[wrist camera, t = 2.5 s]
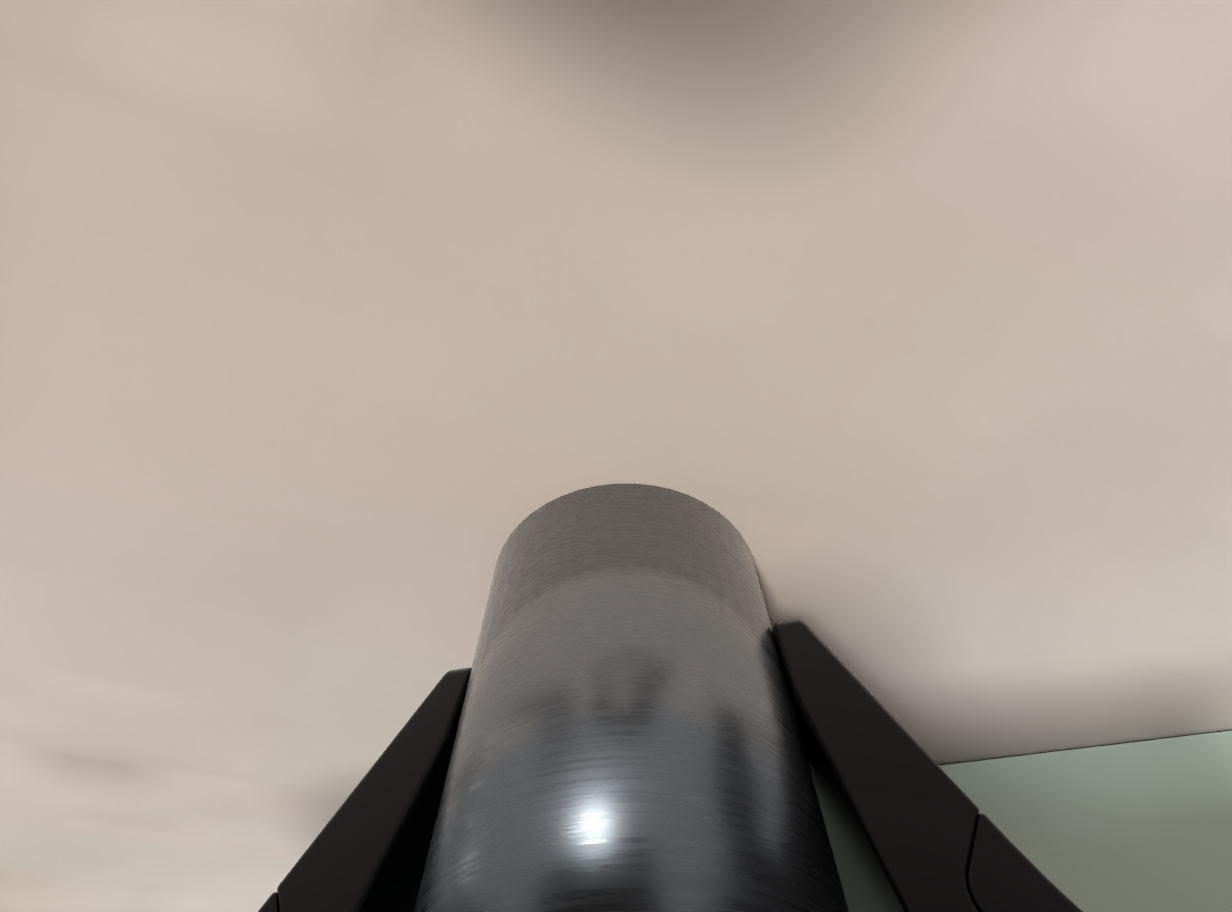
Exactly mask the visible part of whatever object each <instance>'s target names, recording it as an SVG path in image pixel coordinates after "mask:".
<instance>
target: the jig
mask: <svg viewBox="0 0 1232 912" xmlns="http://www.w3.org/2000/svg"><path fill="white" fill-rule="evenodd" d="M939 766H940V767H941V768H942V769H943V770H944V771H945V773H946V774H947V775H948V776H949V777H950V778H951V779H952V780H953V781H954V782H955V783H956V784H957V785H958V786H959V787H960V788H961V789H962V791H963V792H964V793H965V794H966V795H967V796H968V797H969V798H970V799H971V800H972V801H973V802H974V803H975V804H976V805H977V806H978V808H979V810H980V812H979V814H981V813H983V814H985V815H987V817H988V818H989V819H990V820H991V821H992V822H993V823H994V824H995V825H996V826H997V827H998V828H999V829H1000V830H1001V831H1002V832H1003V834H1004V835H1005V836H1006V837H1007V838H1008V839H1009V840H1010V841H1011V842H1012V843H1013V844H1014V845H1015V846H1016V847H1017V848H1018V849H1019V850H1020V851H1021V852H1022V853H1023V854H1024V855H1025V856H1026V857H1027V858H1028V859H1029V860H1030V861H1031V862H1032V863H1033V864H1034V865H1035V866H1036V867H1037V868H1038V869H1039V870H1040V871H1041V872H1042V873H1043V874H1044V875H1045V876H1046V877H1047V878H1048V879H1049V880H1050V881H1051V882H1052V883H1053V884H1054V885H1055V886H1056V887H1057V888H1058V889H1060V890H1061V891H1062V892H1063V893H1064V894H1065V895H1066V896H1067V897H1068V898H1069V899H1070V900H1071V901H1073V902H1074V903H1075V904H1076V905H1077V906H1078V907H1079V908H1080V909H1081V910H1082V911H1083V912H1232V731H1223V732H1215V733H1207V734H1198V735H1190V736H1182V737H1173V738H1165V739H1156V740H1148V741H1140V742H1131V743H1123V744H1115V745H1106V746H1098V747H1090V748H1081V749H1073V750H1065V751H1056V752H1048V753H1040V754H1031V755H1023V756H1015V757H1006V758H998V759H990V760H981V761H973V762H965V763H956V764H948V765H939ZM848 911H849V910H848Z"/></svg>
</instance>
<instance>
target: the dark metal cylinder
mask: <svg viewBox="0 0 1232 912" xmlns="http://www.w3.org/2000/svg"><path fill="white" fill-rule="evenodd" d="M414 912H849V911H848V907H847V903H846V900H845V896H844V892H843V889H842V885H841V881H840V877H839V874H838V870H837V866H836V863H835V859H834V855H833V852H832V848H831V844H830V841H829V837H828V833H827V830H826V826H825V822H824V819H823V815H822V811H821V808H820V804H819V800H818V796H817V793H816V789H815V785H814V782H813V778H812V774H811V771H810V767H809V763H808V760H807V756H806V752H805V749H804V745H803V741H802V738H801V734H800V730H799V727H798V723H797V719H796V716H795V712H794V709H793V705H792V702H791V698H790V694H789V691H788V687H787V683H786V680H785V676H784V672H783V669H782V665H781V661H780V657H779V654H778V650H777V646H776V643H775V639H774V635H773V631H772V627H771V623H770V620H769V616H768V612H767V609H766V605H765V601H764V598H763V594H762V590H761V587H760V583H759V579H758V576H757V572H756V568H755V565H754V561H753V558H752V555H751V553H750V550H749V548H748V546H747V544H746V543H745V541H744V539H743V538H742V536H741V535H740V533H739V532H738V531H737V530H736V529H735V527H734V526H733V525H732V524H731V523H730V522H729V521H728V520H727V519H726V518H724V517H723V516H722V515H721V514H720V513H719V512H717V511H716V510H714V509H713V508H711V507H710V506H708V505H706V504H705V503H703V502H701V501H699V500H697V499H695V498H693V497H691V496H688V495H686V494H683V493H680V492H677V491H674V490H670V489H666V488H661V487H657V486H651V485H641V484H611V485H602V486H595V487H591V488H587V489H582V490H578V491H575V492H572V493H570V494H567V495H564V496H561V497H559V498H557V499H555V500H553V501H551V502H549V503H547V504H545V505H544V506H542V507H541V508H539V509H538V510H536V511H535V512H533V513H532V514H531V515H530V516H528V517H527V518H526V519H525V520H524V521H523V522H522V523H520V524H519V526H518V527H517V528H516V529H515V530H514V532H513V533H512V534H511V535H510V537H509V538H508V540H507V541H506V543H505V545H504V546H503V548H502V551H501V553H500V556H499V558H498V561H497V565H496V569H495V573H494V577H493V582H492V586H491V590H490V594H489V598H488V603H487V607H486V611H485V615H484V620H483V624H482V628H481V632H480V636H479V641H478V645H477V649H476V653H475V658H474V662H473V666H472V670H471V674H470V679H469V683H468V687H467V691H466V695H465V700H464V704H463V708H462V712H461V717H460V721H459V725H458V729H457V733H456V738H455V742H454V746H453V750H452V755H451V759H450V763H449V767H448V771H447V776H446V780H445V784H444V788H443V793H442V797H441V801H440V805H439V809H438V814H437V818H436V822H435V826H434V830H433V835H432V839H431V843H430V847H429V852H428V856H427V860H426V864H425V868H424V873H423V877H422V881H421V885H420V890H419V894H418V898H417V902H416V906H415V911H414Z"/></svg>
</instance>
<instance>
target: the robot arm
mask: <svg viewBox="0 0 1232 912" xmlns="http://www.w3.org/2000/svg"><path fill="white" fill-rule="evenodd" d="M772 631H773V635H774V639H775V643H776V646H777V650H778V654H779V657H780V661H781V665H782V669H783V672H784V676H785V680H786V683H787V687H788V691H789V694H790V698H791V702H792V705H793V709H794V712H795V716H796V719H797V723H798V727H799V730H800V734H801V738H802V741H803V745H804V749H805V752H806V756H807V760H808V763H809V767H810V771H811V774H812V778H813V782H814V785H815V789H816V793H817V796H818V800H819V804H820V808H821V811H822V815H823V819H824V822H825V826H826V830H827V833H828V837H829V841H830V844H831V848H832V852H833V855H834V859H835V863H836V866H837V870H838V874H839V877H840V881H841V885H842V889H843V892H844V896H845V900H846V903H847V907H848V910H849V912H1083V911H1082V910H1081V909H1080V908H1079V907H1078V906H1077V905H1076V904H1075V903H1074V902H1073V901H1071V900H1070V899H1069V898H1068V897H1067V896H1066V895H1065V894H1064V893H1063V892H1062V891H1061V890H1060V889H1058V888H1057V887H1056V886H1055V885H1054V884H1053V883H1052V882H1051V881H1050V880H1049V879H1048V878H1047V877H1046V876H1045V875H1044V874H1043V873H1042V872H1041V871H1040V870H1039V869H1038V868H1037V867H1036V866H1035V865H1034V864H1033V863H1032V862H1031V861H1030V860H1029V859H1028V858H1027V857H1026V856H1025V855H1024V854H1023V853H1022V852H1021V851H1020V850H1019V849H1018V848H1017V847H1016V846H1015V845H1014V844H1013V843H1012V842H1011V841H1010V840H1009V839H1008V838H1007V837H1006V836H1005V835H1004V834H1003V832H1002V831H1001V830H1000V829H999V828H998V827H997V826H996V825H995V824H994V823H993V822H992V821H991V820H990V819H989V818H988V817H987V815H985V814H983V813H981V814H979V812H980V810H979V808H978V806H977V805H976V804H975V803H974V802H973V801H972V800H971V799H970V798H969V797H968V796H967V795H966V794H965V793H964V792H963V791H962V789H961V788H960V787H959V786H958V785H957V784H956V783H955V782H954V781H953V780H952V779H951V778H950V777H949V776H948V775H947V774H946V773H945V771H944V770H943V769H942V768H941V767H940V766H939V765H938V764H937V763H936V762H935V761H934V760H933V759H932V758H931V757H930V756H929V755H928V754H927V752H926V751H925V750H924V749H923V748H922V747H921V746H920V745H919V744H918V743H917V742H916V741H915V740H914V739H913V738H912V737H911V736H910V734H909V733H908V732H907V731H906V730H905V729H904V728H903V727H902V726H901V725H900V724H899V723H898V722H897V721H896V720H895V719H894V718H893V716H892V715H891V714H890V713H889V712H888V711H887V710H886V709H885V708H884V707H883V706H882V705H881V704H880V703H879V702H878V701H877V700H876V699H875V697H874V696H873V695H872V694H871V693H870V692H869V691H868V690H867V689H866V688H865V687H864V686H863V685H862V684H861V683H860V682H859V681H858V679H857V678H856V677H855V676H854V675H853V674H852V673H851V672H850V671H849V670H848V669H847V668H846V667H845V666H844V665H843V664H842V663H841V661H840V660H839V659H838V658H837V657H836V656H835V655H834V654H833V653H832V652H831V651H830V650H829V649H828V648H827V647H826V646H825V645H824V644H823V642H822V641H821V640H820V639H819V638H818V637H817V636H816V635H815V634H814V633H813V632H812V631H811V630H810V629H809V628H808V627H807V626H806V625H805V624H804V623H803V622H802V621H800V620H792V621H785V622H778V623H775V624H774V625H773V627H772ZM471 670H472V668H465V669H458V670H452V671H449V672H448V673H446V674H445V675H444V676H443V677H442V679H441V680H440V681H439V683H438V684H437V685H436V686H435V688H434V689H433V690H432V691H431V693H430V694H429V695H428V697H427V698H426V699H425V700H424V702H423V703H422V704H421V705H420V707H419V708H418V709H417V711H416V712H415V713H414V714H413V716H412V717H411V718H410V719H409V721H408V722H407V723H406V724H405V726H404V727H403V728H402V730H401V731H400V732H399V733H398V735H397V736H396V737H395V738H394V740H393V741H392V742H391V744H390V745H389V746H388V747H387V749H386V750H385V751H384V752H383V754H382V755H381V756H380V758H379V759H378V760H377V761H376V763H375V764H374V765H373V766H372V768H371V769H370V770H369V772H368V773H367V774H366V775H365V777H364V778H363V779H362V780H361V782H360V783H359V784H358V786H357V787H356V788H355V789H354V791H353V792H352V793H351V794H350V796H349V797H348V798H347V800H346V801H345V802H344V803H343V805H342V806H341V807H340V808H339V810H338V811H337V812H336V813H335V815H334V816H333V817H332V819H331V820H330V821H329V822H328V824H327V825H326V826H325V827H324V829H323V830H322V831H321V833H320V834H319V835H318V836H317V838H316V839H315V840H314V841H313V843H312V844H311V845H310V847H309V848H308V849H307V850H306V852H305V853H304V854H303V855H302V857H301V858H300V859H299V861H298V862H297V863H296V864H295V866H294V867H293V868H292V869H291V871H290V872H289V873H288V875H287V876H286V877H285V878H284V880H283V881H282V882H281V883H280V885H279V886H278V889H277V892H274V893H273V894H272V895H271V896H270V897H269V898H268V900H267V901H266V902H265V903H264V905H263V906H262V907H261V909H260V910H259V911H258V912H414V911H415V906H416V902H417V898H418V894H419V890H420V885H421V881H422V877H423V873H424V868H425V864H426V860H427V856H428V852H429V847H430V843H431V839H432V835H433V830H434V826H435V822H436V818H437V814H438V809H439V805H440V801H441V797H442V793H443V788H444V784H445V780H446V776H447V771H448V767H449V763H450V759H451V755H452V750H453V746H454V742H455V738H456V733H457V729H458V725H459V721H460V717H461V712H462V708H463V704H464V700H465V695H466V691H467V687H468V683H469V679H470V674H471Z"/></svg>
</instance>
